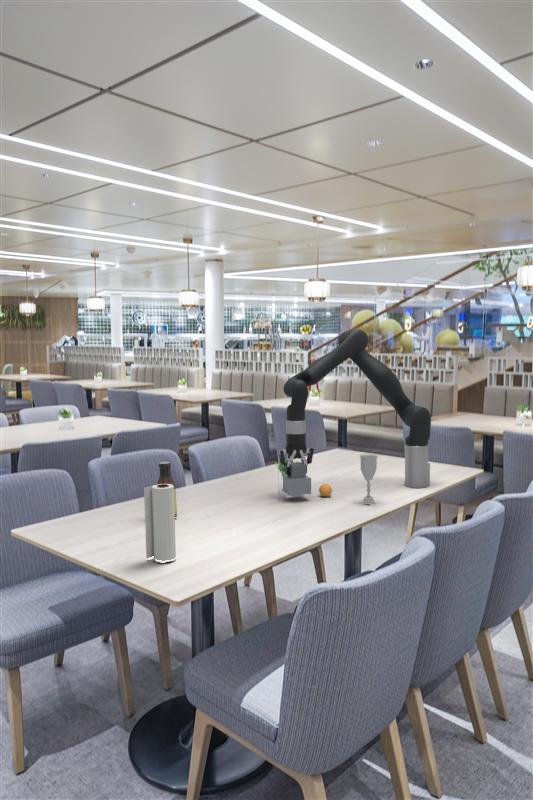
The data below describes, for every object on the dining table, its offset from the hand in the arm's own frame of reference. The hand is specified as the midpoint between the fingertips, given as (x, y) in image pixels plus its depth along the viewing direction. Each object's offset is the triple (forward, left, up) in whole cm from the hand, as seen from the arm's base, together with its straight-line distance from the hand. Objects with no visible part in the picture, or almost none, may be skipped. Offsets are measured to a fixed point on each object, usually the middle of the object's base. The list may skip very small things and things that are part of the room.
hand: (296, 475), depth 237 cm
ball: (-12, 0, -7) cm, 14 cm away
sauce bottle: (+51, +8, -10) cm, 52 cm away
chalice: (-23, +15, -10) cm, 29 cm away
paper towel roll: (+59, +48, -10) cm, 77 cm away
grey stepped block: (0, 0, -6) cm, 6 cm away
